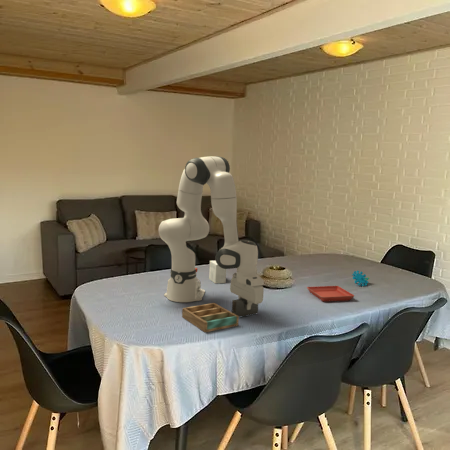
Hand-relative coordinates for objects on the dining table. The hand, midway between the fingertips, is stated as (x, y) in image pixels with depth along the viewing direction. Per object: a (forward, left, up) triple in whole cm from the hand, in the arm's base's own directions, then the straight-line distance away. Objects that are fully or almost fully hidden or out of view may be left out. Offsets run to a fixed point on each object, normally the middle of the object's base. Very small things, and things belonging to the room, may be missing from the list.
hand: (245, 307), depth 204 cm
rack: (+14, -12, -3) cm, 18 cm away
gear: (-73, +48, -4) cm, 87 cm away
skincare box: (-46, -28, -3) cm, 54 cm away
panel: (0, 0, -3) cm, 3 cm away
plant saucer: (-43, +33, -4) cm, 55 cm away
